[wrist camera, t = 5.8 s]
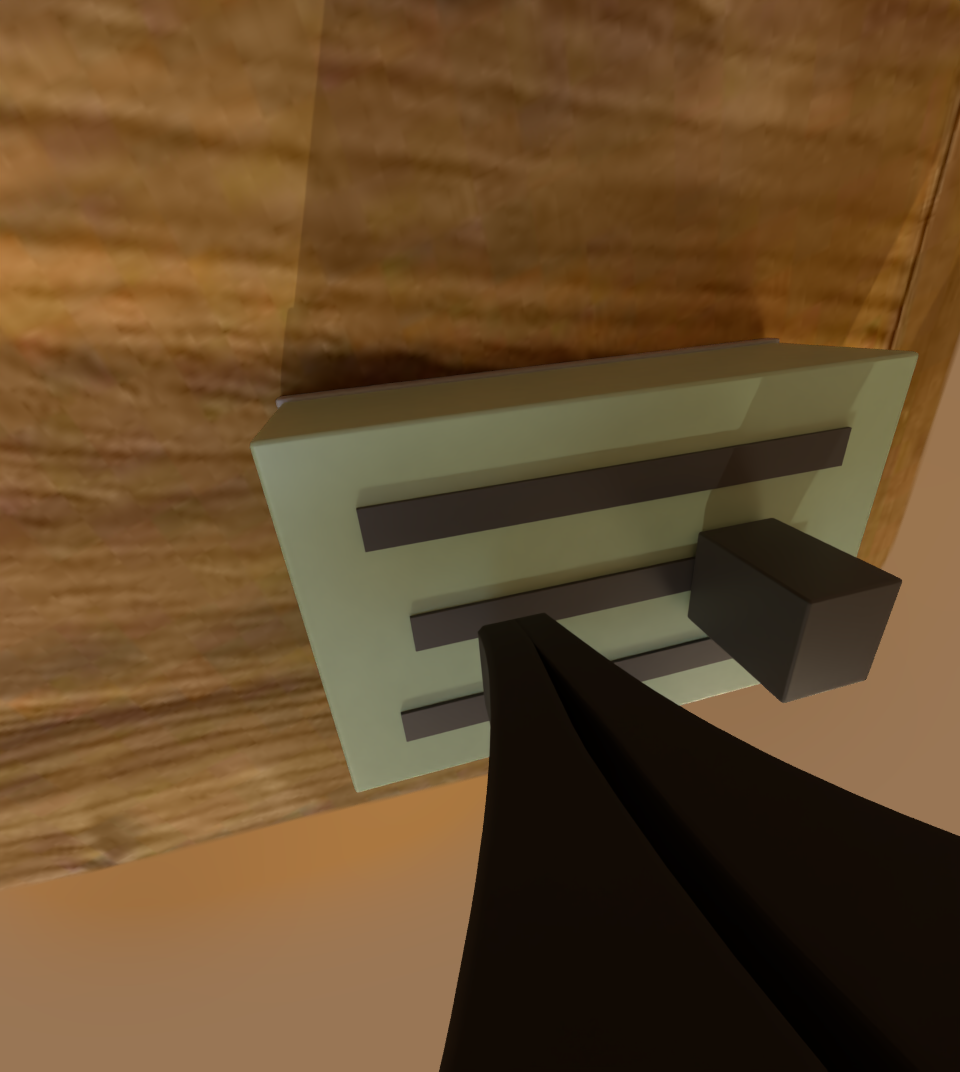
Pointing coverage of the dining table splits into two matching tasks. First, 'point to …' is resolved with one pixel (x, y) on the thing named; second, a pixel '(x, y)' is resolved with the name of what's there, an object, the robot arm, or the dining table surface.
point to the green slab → (552, 518)
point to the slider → (789, 606)
